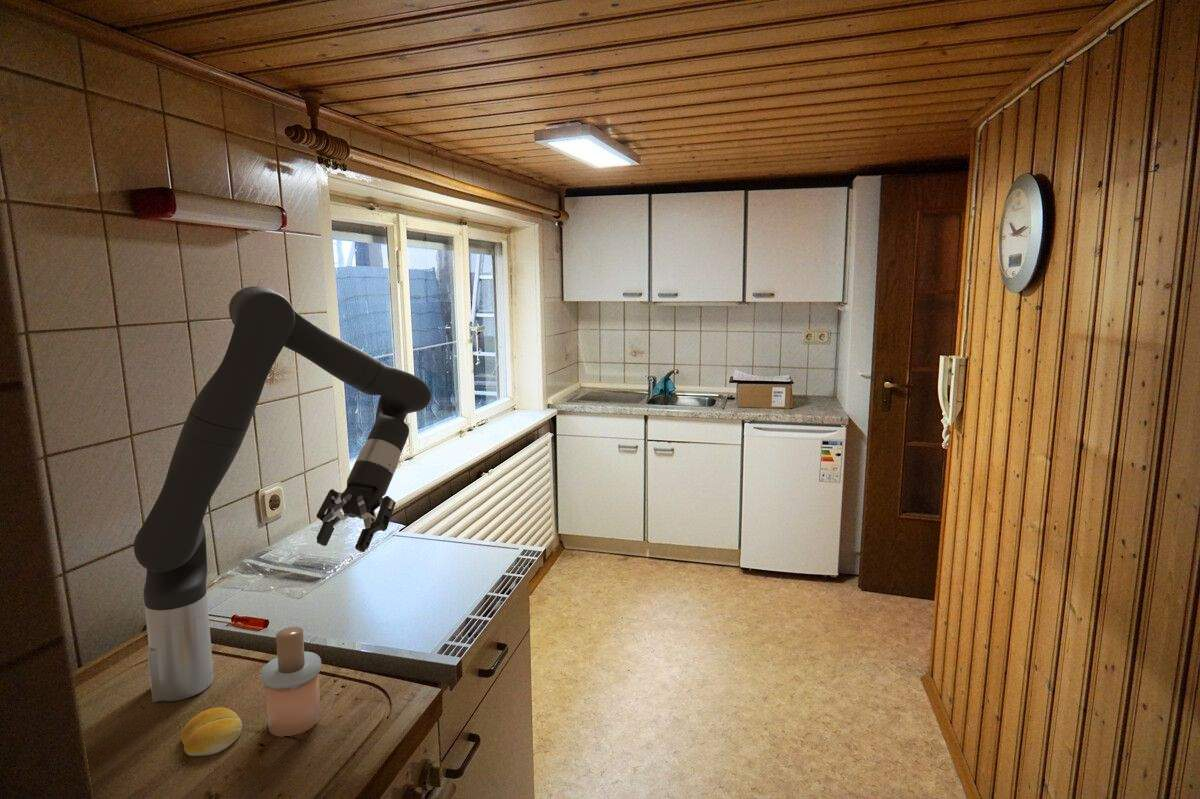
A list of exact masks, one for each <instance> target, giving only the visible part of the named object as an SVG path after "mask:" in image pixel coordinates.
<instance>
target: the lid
mask: <svg viewBox="0 0 1200 799" xmlns="http://www.w3.org/2000/svg"><path fill="white" fill-rule="evenodd" d="M275 640H276V642H275V643H276V655H277V657H274V658H273V659H271V660H270V661H269V662H267V663H266V664H265V665H264V666H263V667H262V669H261V671H260V678H261V679H260V680H261V683H262V684H263V685H264V686H265V685H266V686H268V687H271V688H278V689H281V688H291V690H293V689H297V688H299V685H301V684H303V683H306V682H308V681H309V680H311V679H313V678H314V677H315V676H316V675H317V674H319V673H320V672H321V669H322V659H321V657H320V656H319V654H318V653H315V652H312V651H307V650H306V651H305V645H304V630H303V628H301V627H298V626H289V627H285V628H283V629H281V630H279V631H278V632H277V633H276V634H275Z"/></svg>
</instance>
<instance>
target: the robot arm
mask: <svg viewBox="0 0 1200 799" xmlns="http://www.w3.org/2000/svg"><path fill="white" fill-rule="evenodd" d="M228 313H229V317H230V319H231V322H232V324H233V325H234V326H233V331H232V333H231V338H230V341H229V343H228V345H227V349H226V351H225V354H224V356H223V359H222V360H221V363H220V364H219V366H218V367H217V369H216V370H215V371H214V373H213V374H212V376H211V377H210V379H209V380H207V382H206V384H204V386H203V388H202V389H201V390H199V392H198V394H197V396H196V397H195V399H194V401H193V403H192V405H191V407H190V409H189V412H188V414H187V416H186V418H185V421H184V424H183V427H182V429H181V431H180V434H179V436H178V440H177V442H176V445H175V448H174V451H173V453H172V457H171V459H170V463H169V466H168V470H167V473H166V476H165V480H164V483H163V486H162V488H161V490H160V493H159V495H158V496H157V499H156V501H155V503H154V504H153V506H152V508H151V510H150V511H149V514H148V515H147V517H146V518H145V520H144V522H143V523H142V526H141V527H140V529H139V530H138V532H137V533H136V535H135V538H134V540H133V553H134V556H135V559H136V560H137V562H138V563H139V565H141V566H142V567H143V568H144V569H146V576H145V583H144V587H143V601H144V612H145V622H146V632H147V642H148V647H147V661H148V669H149V671H148V672H149V680H150V691H151V698H152V699H151V700H152V703H157V702H176V701H180V700H181V701H182V700H186V699H188V698H191V697H194V696H196V695H199V694H200V693H202V692H204V691H205V690H206V689H208V688H210V686H211V685H212V684H213V682H214V678H215V677H214V676H215V675H214V665H213V652H212V651H213V650H212V640H211V639H212V638H211V631H210V630H211V629H210V628H211V626H210V616H209V604H208V593H207V592H208V591H207V577H208V556H207V555H208V552H207V551H208V550H207V539H206V537H207V536H206V528H205V524H204V518H205V516H206V512H207V509H208V506H209V505H210V501H211V500H212V498H213V496H214V494H215V492H216V491H217V489H218V487H219V485H220V484H221V482H222V481H223V479H224V477H225V476H226V474H227V472H229V471H228V470H229V469H230V467H231V466H232V464H233V462H234V460H235V459H236V456H237V454H238V452H239V450H240V448H241V446H242V445H243V444H242V443H243V441H244V439H245V436H246V434H247V431H248V430H249V427H250V425H251V421H252V419H253V416H254V413H255V411H256V409H257V406H258V403H259V402H260V397H261V395H262V394H263V390H264V386H265V384H266V380H267V379H268V376H269V374H270V372H271V370H272V368H273V366H274V364H275V363H276V360H277V358H278V357H279V355H280V353H281V351H282V350H283V348H287V349H288V350H291V351H293V353H297V354H298V355H299V356H301V357H303V358H305V359H307V360H309V361H310V362H312V363H313V364H314V365H316V366H318V367H319V368H321V369H322V370H323V371H325V372H327V373H328V374H330V375H331V376H333V377H334V378H336V379H338V380H339V381H341V382H343V383H345V384H346V385H347V386H351V387H352V388H354V389H356V390H358V391H360V392H361V393H363V394H365V395H369V396H379V398H378V403H377V408H376V413H375V420H374V424H373V426H372V428H371V430H370V432H369V435H368V437H367V439H366V441H365V443H364V444H363V446H362V448H361V449H360V451H359V453H358V456H357V458H356V460H355V462H354V464H353V467H352V469H351V470H350V472H349V474H348V475H349V476H348V478H347V480H346V488H345V489H344V490H343V492H341V491H336V490H335V489H333V488H331V489H329V491H328V492H327V495H326V496H325V498H324V500H323V502H322V503H321V506H320V508H319V510H318V512H317V513H316V515H315V516H316V519H319V520H320V521H321V522H322V525H321V527H320V529H319V531H318V533H317V536H316V543H317V544H318V545H320V546H321V547H322V546H323V547H326V546H327V545H328V544H329V541H330V539H331V537H332V535H333V533H334V530H335V527H336V526H337V525H338V524H339V523H340V522H342V521H345V520H347V519H348V518H352V519H353V518H358V519H360V520H363V525H364V528H362V529H361V532H360V534H359V536H358V540H357V542H356V544H355V546H354V548H355V551H358V552H361V553H365V552H366V550H368V548H370V545H371V543H372V541H373V540H372V539H373V537H374V536H375V534H376V533H377V532H380V531H381V532H385V531H386V530H388V527H389V524H390V521H391V520H392V519H391V518H392V516H393V512H394V510H395V506H396V501H395V500H394V499H393V498H392V497H390V496H389V495H386V494H387V492H388V490H389V487H390V484H391V482H392V480H393V477H394V474H395V472H396V470H397V469H398V468H397V467H398V465H399V462H400V458H401V454H402V452H403V450H404V447H405V446H406V442H407V440H408V438H409V435H410V427H409V424H407V423H406V421H405V419H406V417H407V415H408V414H411V413H415V412H416V413H417V412H420V411H422V410H424V409H425V408H427V407H428V405H429V404H430V402H431V398H432V396H431V390H430V388H429V386H428V384H427V383H426V382H425V381H424V379H421V378H420V377H418V376H416V375H415V374H412V373H411V372H407V371H405V370H402V369H399V368H397V367H393V366H390V365H388V364H385V363H383V362H382V361H380V360H379V359H377V358H375V357H374V356H373V355H370V354H369V353H367V352H366V351H364V350H362V349H360V348H358V347H356V346H355V345H353V344H350V343H349V342H347V341H345V340H343V339H342V338H339V337H337V336H335V335H333V334H332V333H330V332H328V331H326V330H325V329H322V328H321V327H319V326H318V325H316V324H314V323H313V322H312V321H310V320H308V319H307V318H305V317H304V316H303V315H301V314H300V313H299V312H298V311H296V310H295V309H294V307H293V305H292V304H291V302H290V301H289V299H287V298H286V297H285V296H284V295H282V294H281V293H279V292H278V291H276V290H273V289H272V288H269V287H266V286H261V285H254V286H253V285H251V286H247V287H244V288H242V289H239V290H238V291H236V293H235V294H234V295H233V296H232V297H231V299H230V301H229V305H228ZM378 508H379V510H378V513H376V510H377V509H378ZM341 510H342V511H341ZM376 514H377V515H376Z"/></svg>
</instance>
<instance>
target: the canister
mask: <svg viewBox="0 0 1200 799" xmlns="http://www.w3.org/2000/svg"><path fill="white" fill-rule="evenodd" d="M264 686H265V698H266V699H265V702H266V712H267V715H266V716H267V728H268V731H269V733H270V734H271V735H273V736H274V737H275V736H276V737H280V738H285V737H284V736H290V737H292V736H291V735H295V734H298V735H300V734H299V733H301V734H303V733H302V732H304V731H306V730H308V729H309V730H311V729H312V728H313V727H315V726H316V725H317V724H318V722H319V721H320V719H321V698H320V697H321V695H320V679H319V673H318V674H317V675H316V676H315V677H314V678H313V679H311V680H309V681H308V682H306V683H303V684H301V685H299V688H297V689H293V690H291V688H281V689H278V688H271V687H268V686H266V685H264ZM314 725H315V726H314ZM310 728H311V729H310ZM309 730H308V731H309ZM306 732H307V731H306ZM304 733H305V732H304ZM295 736H296V735H295Z"/></svg>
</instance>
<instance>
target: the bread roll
mask: <svg viewBox="0 0 1200 799" xmlns="http://www.w3.org/2000/svg"><path fill="white" fill-rule="evenodd" d="M242 730H243V722H242V720H241V718H240V716H239V715H238V714H237V713H236V712H235V711H233V710H231V709H230V708H227V707H218V706H217V707H211V708H208V709H205V710H204V711H201V712H199V713H198V714H196V715H194V717H192V718H191V719H189V721H188V722H187V723H186V724H185V725H184V727H183V729H182V731H181V735H180V736H181V737H180V738H181V742H182V744H183V750H184V753H185V754H186V755H189V757H190V756H191V757H192V756H193V757H200V756H203V757H204V756H211V755H215V754H218V753H220V752H222V751H224V750H225V749H227V748H229V747H230V746H231V745H232V744H233V743H234V742H235V741H236V740H237V739H238V738H239V737H240V736H241V734H242Z"/></svg>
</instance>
